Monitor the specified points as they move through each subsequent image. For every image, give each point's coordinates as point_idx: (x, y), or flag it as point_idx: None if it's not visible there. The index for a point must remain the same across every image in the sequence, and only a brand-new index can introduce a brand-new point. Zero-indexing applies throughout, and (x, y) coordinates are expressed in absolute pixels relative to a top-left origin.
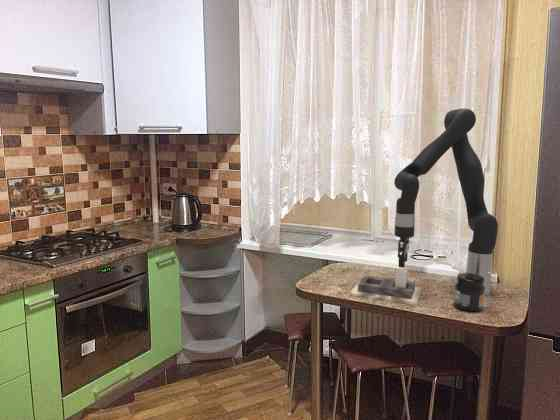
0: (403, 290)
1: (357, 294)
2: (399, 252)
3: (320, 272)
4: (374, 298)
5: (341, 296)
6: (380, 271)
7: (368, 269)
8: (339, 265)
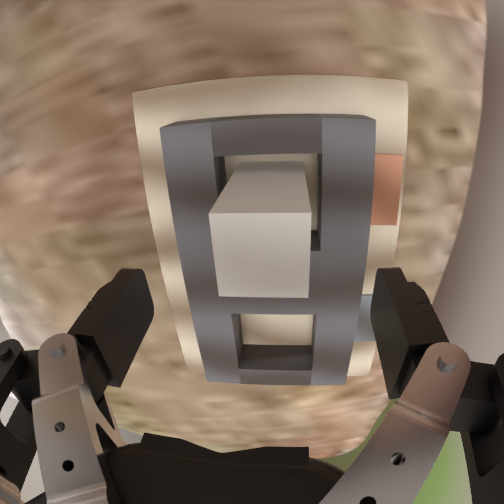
0: (369, 175)
1: (374, 352)
2: (485, 458)
3: None
4: None
5: (383, 382)
6: (40, 309)
7: None
8: None
